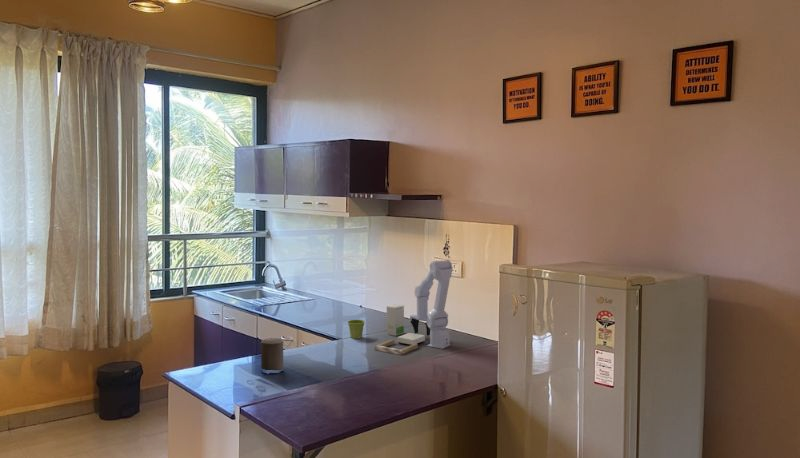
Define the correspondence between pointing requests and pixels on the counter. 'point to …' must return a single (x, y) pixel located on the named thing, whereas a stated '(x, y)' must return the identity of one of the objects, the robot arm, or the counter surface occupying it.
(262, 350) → the pillar candle
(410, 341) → the cream tile slab
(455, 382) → the counter surface
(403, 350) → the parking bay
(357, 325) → the plant pot
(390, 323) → the skincare box
